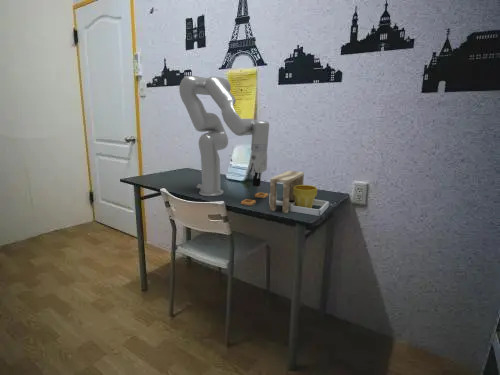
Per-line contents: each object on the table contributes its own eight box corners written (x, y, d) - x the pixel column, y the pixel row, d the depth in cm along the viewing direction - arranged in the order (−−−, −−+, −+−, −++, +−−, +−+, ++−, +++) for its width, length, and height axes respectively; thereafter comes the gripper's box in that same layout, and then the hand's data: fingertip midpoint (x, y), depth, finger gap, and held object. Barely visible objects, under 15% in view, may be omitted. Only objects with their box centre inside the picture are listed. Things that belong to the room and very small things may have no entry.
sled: (264, 207, 136) (265, 196, 134) (277, 199, 148) (277, 189, 147) (320, 216, 124) (320, 204, 123) (328, 206, 136) (329, 196, 135)
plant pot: (300, 203, 141) (301, 183, 139) (320, 208, 135) (321, 187, 132) (288, 208, 134) (288, 187, 131) (308, 213, 127) (309, 191, 125)
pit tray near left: (254, 197, 151) (254, 194, 150) (259, 195, 155) (259, 192, 155) (263, 198, 149) (263, 195, 148) (268, 196, 153) (268, 193, 152)
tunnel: (269, 210, 131) (270, 178, 128) (287, 198, 149) (288, 170, 145) (286, 213, 128) (288, 180, 124) (302, 200, 145) (303, 172, 142)
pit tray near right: (241, 204, 139) (241, 201, 139) (246, 201, 143) (246, 198, 143) (250, 206, 137) (250, 203, 136) (255, 203, 141) (255, 200, 140)
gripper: (259, 150, 131) (256, 190, 136) (273, 147, 144) (269, 184, 149) (244, 148, 134) (241, 187, 139) (259, 145, 147) (256, 181, 152)
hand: (256, 185), depth 144 cm, fingers closed
